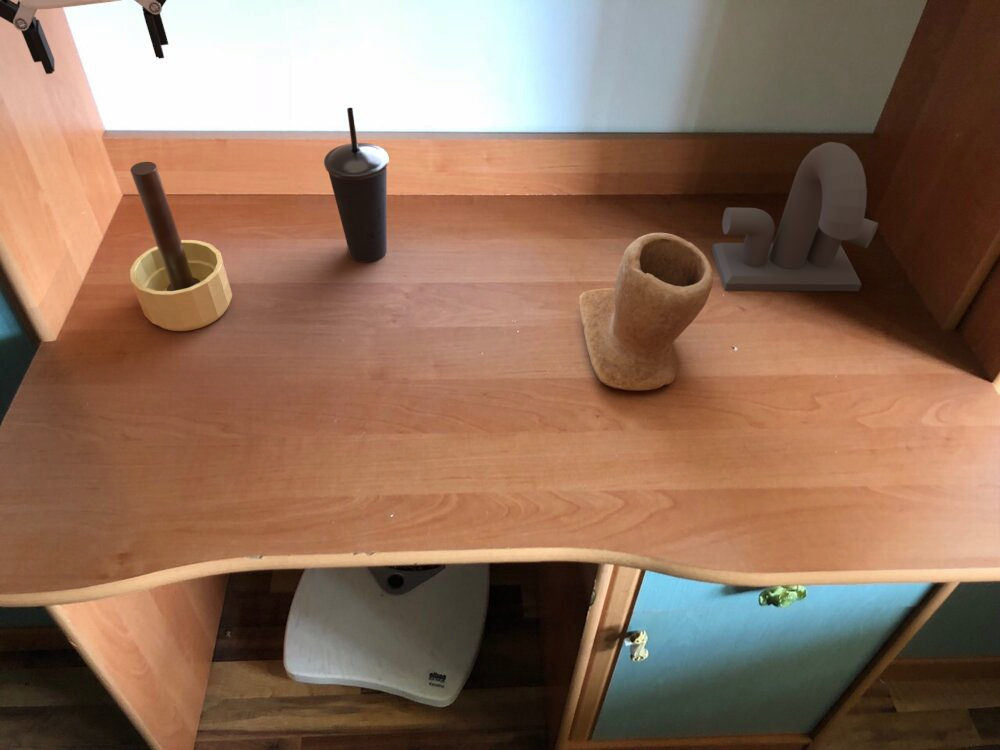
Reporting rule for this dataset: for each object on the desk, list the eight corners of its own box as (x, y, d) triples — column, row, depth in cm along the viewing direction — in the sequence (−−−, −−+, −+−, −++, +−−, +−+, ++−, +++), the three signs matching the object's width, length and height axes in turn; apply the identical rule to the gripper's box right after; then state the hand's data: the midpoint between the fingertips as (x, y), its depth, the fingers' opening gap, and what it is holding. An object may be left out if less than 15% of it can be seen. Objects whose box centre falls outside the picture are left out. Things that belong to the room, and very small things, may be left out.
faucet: (732, 330, 95) (777, 185, 81) (706, 250, 106) (742, 110, 92) (882, 330, 95) (953, 186, 81) (841, 251, 106) (897, 111, 92)
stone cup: (698, 397, 87) (729, 291, 76) (591, 398, 87) (607, 292, 76) (672, 306, 98) (696, 202, 87) (576, 307, 97) (588, 203, 87)
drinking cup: (329, 264, 102) (305, 120, 88) (351, 230, 108) (331, 89, 93) (385, 273, 101) (370, 129, 87) (404, 239, 106) (393, 97, 92)
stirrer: (172, 314, 94) (124, 181, 81) (169, 293, 97) (121, 161, 84) (207, 306, 95) (165, 174, 82) (203, 286, 98) (161, 155, 85)
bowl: (149, 342, 92) (133, 302, 87) (142, 289, 98) (127, 250, 94) (239, 321, 94) (227, 282, 90) (226, 271, 101) (215, 232, 97)
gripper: (-98, -133, 58) (3, 92, 70) (152, -150, 62) (205, 63, 75) (-86, -157, 63) (6, 57, 75) (144, -172, 67) (196, 32, 79)
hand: (105, 60), depth 75 cm, fingers open, 9 cm apart
